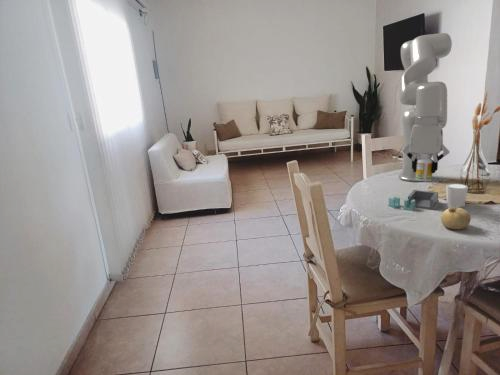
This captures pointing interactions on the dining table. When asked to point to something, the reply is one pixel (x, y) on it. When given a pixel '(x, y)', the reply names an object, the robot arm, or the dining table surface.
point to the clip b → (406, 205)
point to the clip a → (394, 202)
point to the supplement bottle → (424, 168)
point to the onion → (455, 218)
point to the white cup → (456, 194)
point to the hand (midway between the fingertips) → (424, 171)
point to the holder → (424, 199)
